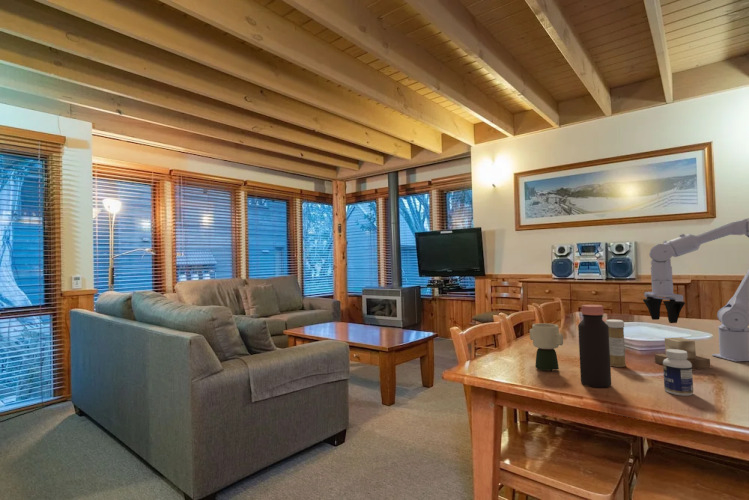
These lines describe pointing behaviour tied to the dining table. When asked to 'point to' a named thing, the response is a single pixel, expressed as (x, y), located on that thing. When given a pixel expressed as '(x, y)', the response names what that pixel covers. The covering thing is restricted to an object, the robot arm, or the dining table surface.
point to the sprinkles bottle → (616, 342)
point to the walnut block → (696, 362)
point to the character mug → (546, 345)
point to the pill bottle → (677, 373)
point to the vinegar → (594, 348)
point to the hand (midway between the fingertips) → (664, 321)
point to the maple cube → (681, 346)
